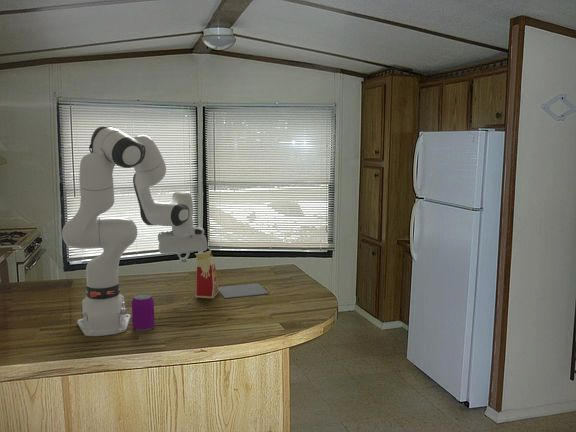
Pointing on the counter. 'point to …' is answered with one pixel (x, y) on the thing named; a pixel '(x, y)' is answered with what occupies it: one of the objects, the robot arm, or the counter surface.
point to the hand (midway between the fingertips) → (183, 262)
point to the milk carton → (206, 276)
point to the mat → (242, 290)
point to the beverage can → (143, 312)
